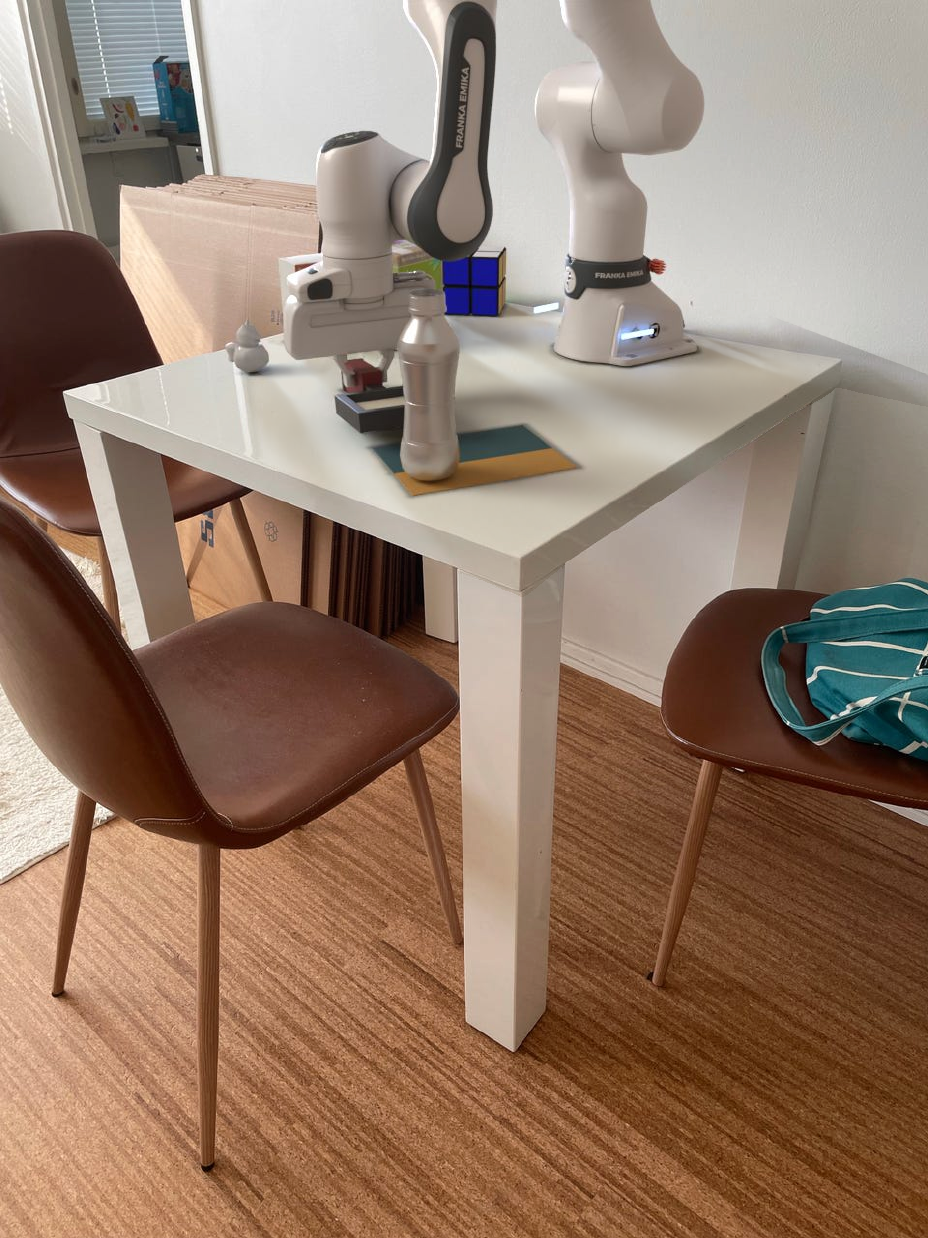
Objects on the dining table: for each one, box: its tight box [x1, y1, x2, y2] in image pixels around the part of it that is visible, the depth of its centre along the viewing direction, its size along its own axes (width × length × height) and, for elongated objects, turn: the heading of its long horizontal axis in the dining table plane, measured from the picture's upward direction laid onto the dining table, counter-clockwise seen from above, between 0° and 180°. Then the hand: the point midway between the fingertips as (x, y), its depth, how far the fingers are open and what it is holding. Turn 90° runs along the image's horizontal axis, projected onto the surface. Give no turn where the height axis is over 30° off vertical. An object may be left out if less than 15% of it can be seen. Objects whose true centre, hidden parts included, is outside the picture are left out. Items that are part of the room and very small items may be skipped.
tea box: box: [392, 240, 442, 351], centre depth 150 cm, size 15×10×15 cm
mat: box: [372, 424, 578, 497], centre depth 110 cm, size 20×15×1 cm
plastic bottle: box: [397, 289, 461, 481], centre depth 100 cm, size 6×7×20 cm
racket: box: [333, 357, 405, 434], centre depth 121 cm, size 24×12×4 cm, turn 22°
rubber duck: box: [224, 316, 270, 373], centre depth 137 cm, size 5×7×8 cm
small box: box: [277, 252, 322, 317], centre depth 148 cm, size 8×6×13 cm
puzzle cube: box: [441, 245, 507, 317], centre depth 167 cm, size 10×10×10 cm
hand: (365, 383), depth 125 cm, fingers closed on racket, 3 cm apart
